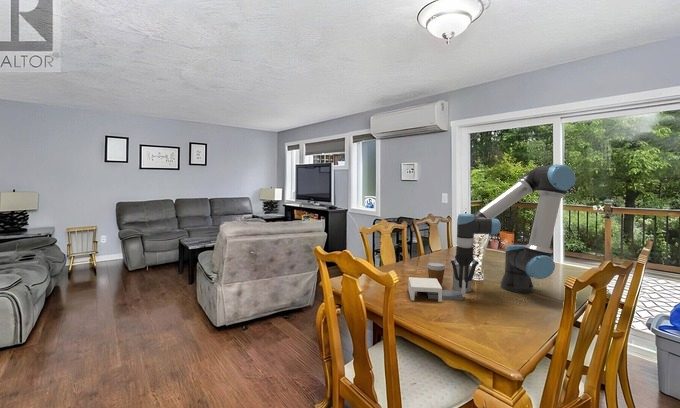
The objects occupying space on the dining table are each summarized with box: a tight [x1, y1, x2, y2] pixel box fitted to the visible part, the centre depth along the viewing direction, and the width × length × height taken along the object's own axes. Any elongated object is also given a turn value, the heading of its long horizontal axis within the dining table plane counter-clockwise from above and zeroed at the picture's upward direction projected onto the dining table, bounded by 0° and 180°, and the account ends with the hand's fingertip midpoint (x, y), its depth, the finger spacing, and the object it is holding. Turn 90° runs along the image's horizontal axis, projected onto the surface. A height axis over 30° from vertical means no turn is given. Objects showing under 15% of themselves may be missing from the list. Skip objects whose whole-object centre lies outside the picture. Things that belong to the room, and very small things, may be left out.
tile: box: [425, 289, 464, 301], centre depth 155 cm, size 16×8×2 cm, turn 83°
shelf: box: [407, 276, 443, 303], centre depth 156 cm, size 14×15×6 cm
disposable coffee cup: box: [426, 261, 447, 288], centre depth 170 cm, size 10×10×12 cm
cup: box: [452, 263, 473, 293], centre depth 166 cm, size 9×9×12 cm
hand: (462, 294), depth 154 cm, fingers closed
